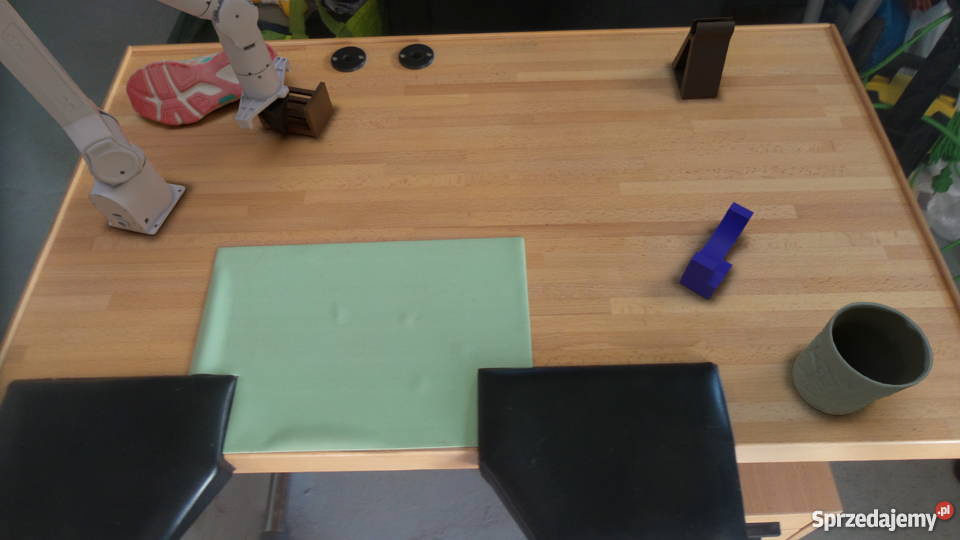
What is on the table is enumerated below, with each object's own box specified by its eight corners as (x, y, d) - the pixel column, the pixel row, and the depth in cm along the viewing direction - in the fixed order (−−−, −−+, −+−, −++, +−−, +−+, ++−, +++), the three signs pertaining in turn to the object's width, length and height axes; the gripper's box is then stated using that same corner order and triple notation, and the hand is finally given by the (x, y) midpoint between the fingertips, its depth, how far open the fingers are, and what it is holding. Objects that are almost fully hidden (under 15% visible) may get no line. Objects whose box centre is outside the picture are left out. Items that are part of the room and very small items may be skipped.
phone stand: (671, 65, 103) (690, 3, 93) (704, 64, 103) (727, 2, 93) (681, 99, 98) (702, 38, 88) (716, 98, 98) (741, 37, 88)
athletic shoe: (297, 76, 105) (259, 12, 101) (290, 77, 97) (249, 7, 92) (170, 143, 105) (127, 82, 101) (153, 150, 97) (104, 84, 92)
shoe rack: (317, 138, 95) (307, 110, 90) (263, 128, 97) (250, 101, 92) (333, 110, 99) (324, 82, 94) (281, 101, 100) (269, 73, 95)
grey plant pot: (885, 386, 70) (951, 345, 60) (841, 440, 67) (903, 407, 57) (811, 330, 74) (861, 284, 64) (766, 379, 71) (811, 338, 61)
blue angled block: (708, 300, 77) (723, 277, 72) (679, 282, 79) (691, 258, 74) (748, 243, 82) (764, 217, 77) (719, 227, 83) (733, 201, 78)
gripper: (254, 99, 79) (285, 166, 91) (296, 36, 87) (320, 105, 98) (209, 92, 80) (245, 159, 92) (255, 30, 88) (283, 99, 99)
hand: (281, 130), depth 95 cm, fingers closed
